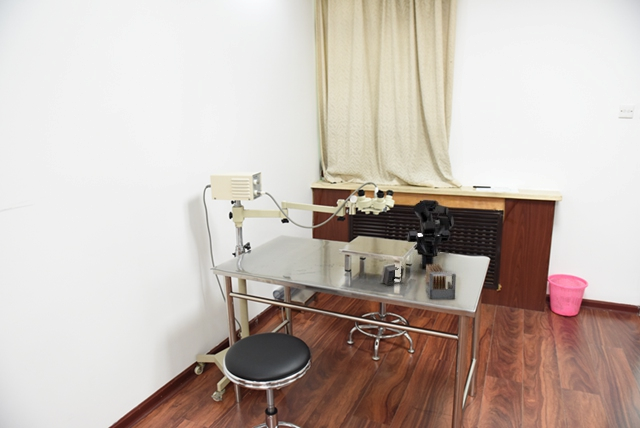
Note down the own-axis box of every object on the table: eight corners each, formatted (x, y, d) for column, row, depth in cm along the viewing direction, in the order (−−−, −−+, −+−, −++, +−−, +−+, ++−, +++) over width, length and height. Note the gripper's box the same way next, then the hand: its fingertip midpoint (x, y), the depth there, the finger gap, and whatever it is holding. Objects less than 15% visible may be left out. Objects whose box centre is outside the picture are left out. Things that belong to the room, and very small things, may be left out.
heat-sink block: (425, 281, 182) (425, 264, 181) (439, 281, 182) (439, 264, 180) (431, 293, 169) (431, 275, 167) (446, 293, 168) (446, 275, 167)
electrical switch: (398, 279, 186) (399, 260, 183) (404, 284, 181) (405, 264, 178) (380, 283, 182) (381, 263, 179) (386, 287, 178) (387, 268, 175)
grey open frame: (425, 290, 171) (425, 267, 169) (449, 290, 170) (450, 267, 168) (429, 299, 163) (430, 274, 161) (455, 299, 162) (455, 274, 160)
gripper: (408, 214, 186) (412, 244, 177) (450, 213, 184) (455, 243, 176) (406, 227, 195) (409, 256, 187) (445, 226, 194) (450, 255, 185)
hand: (430, 252), depth 183 cm, fingers open, 4 cm apart
